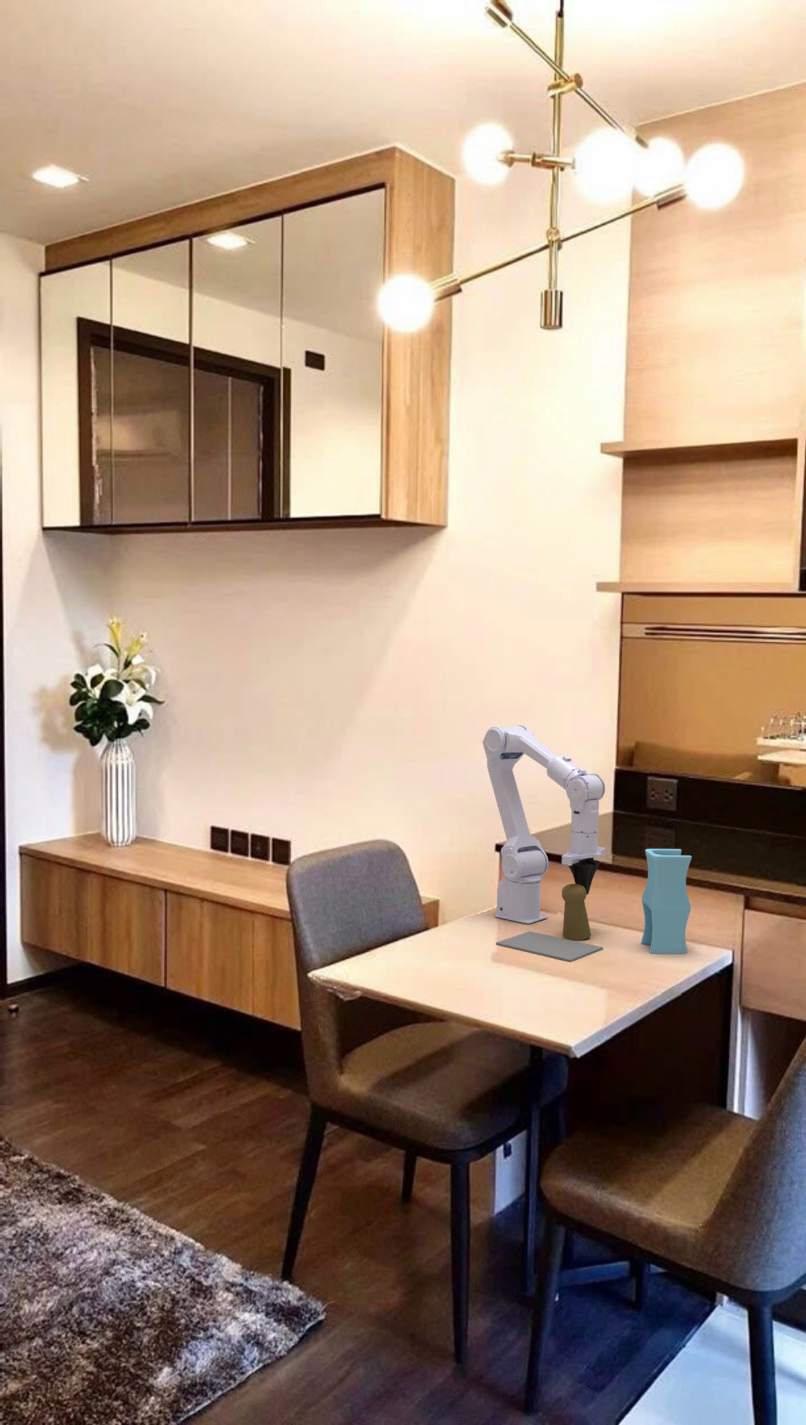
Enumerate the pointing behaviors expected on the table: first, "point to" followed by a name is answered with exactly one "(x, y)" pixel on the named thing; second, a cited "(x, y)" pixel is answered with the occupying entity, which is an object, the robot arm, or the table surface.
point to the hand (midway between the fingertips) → (582, 894)
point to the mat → (550, 946)
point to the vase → (666, 901)
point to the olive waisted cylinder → (575, 913)
